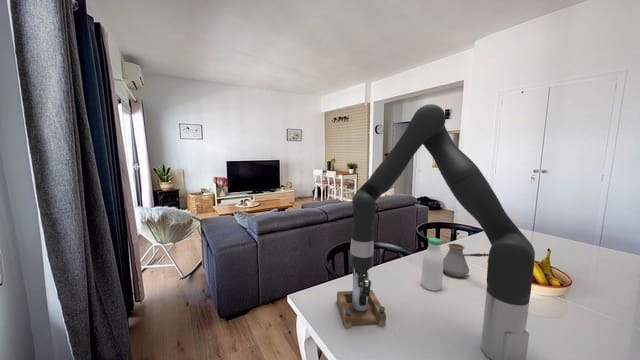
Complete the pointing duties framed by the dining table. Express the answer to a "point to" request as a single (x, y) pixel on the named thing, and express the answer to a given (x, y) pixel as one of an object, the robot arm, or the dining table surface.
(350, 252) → the robot arm
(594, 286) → the dining table surface
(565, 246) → the dining table surface
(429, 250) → the milk bottle
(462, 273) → the coffee pot
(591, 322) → the dining table surface
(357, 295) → the cylinder
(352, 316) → the holder
